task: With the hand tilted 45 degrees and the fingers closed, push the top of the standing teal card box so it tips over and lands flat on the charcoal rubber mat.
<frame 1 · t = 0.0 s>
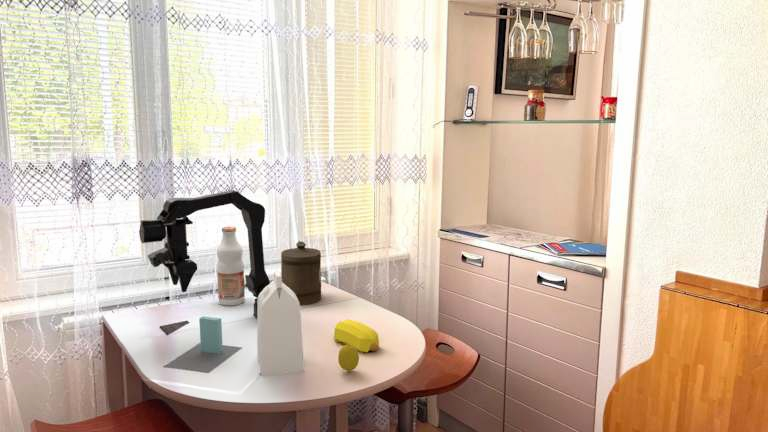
hand: (179, 288, 181), 15 cm above the table, tool pointing down, fingers open, 9 cm apart
milk: (280, 365, 161), on the table
wooden container: (301, 299, 219), on the table
card box: (211, 351, 168), point 1 cm above the table, touching mat
lemon: (348, 372, 157), on the table
mat: (204, 358, 165), on the table
yellow kitchen sponge: (356, 345, 176), on the table
chocolate bar: (183, 334, 184), on the table
fruit juice: (231, 302, 215), on the table
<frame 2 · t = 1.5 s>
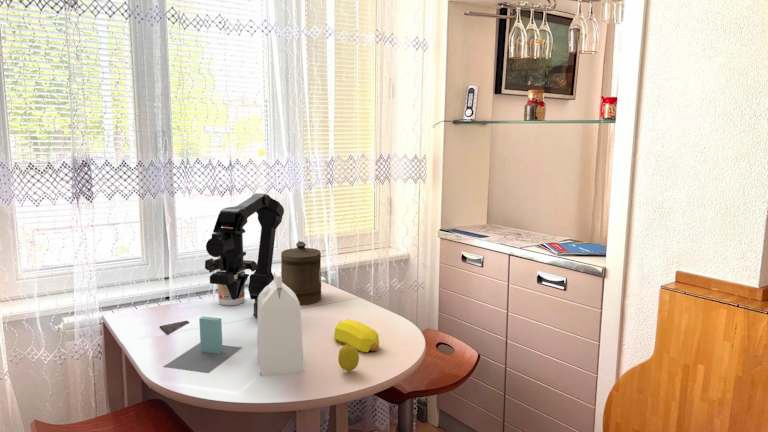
hand: (235, 298, 180), 12 cm above the table, tool pointing down, fingers closed
nothing on the table moved.
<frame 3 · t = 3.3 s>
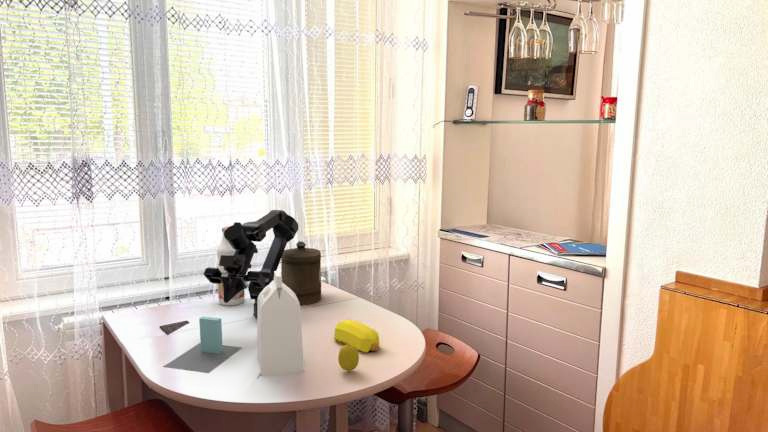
hand: (225, 302, 174), 13 cm above the table, tool tilted 45°, fingers closed
nothing on the table moved.
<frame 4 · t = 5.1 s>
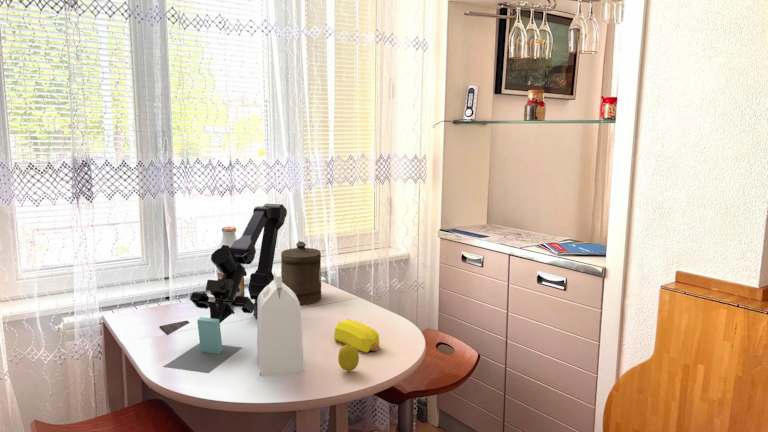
hand: (211, 328, 168), 7 cm above the table, tool tilted 45°, fingers closed, pressing on card box
card box: (211, 351, 168), point 1 cm above the table, tilted 6°, touching gripper, mat
everything else where it was.
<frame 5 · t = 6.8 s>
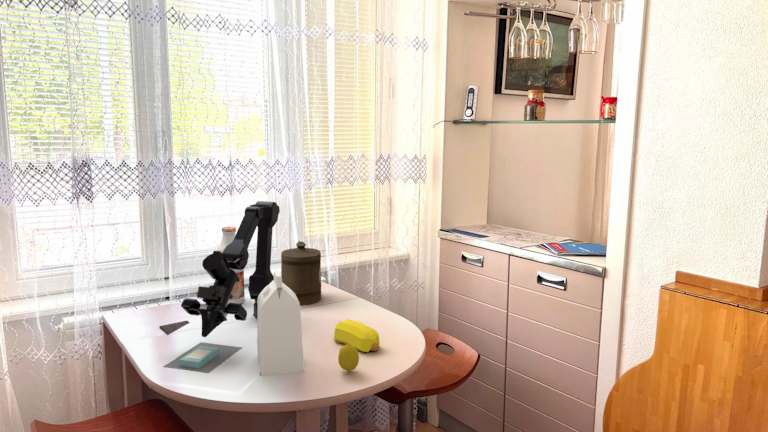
hand: (203, 336, 164), 7 cm above the table, tool tilted 45°, fingers closed
card box: (209, 349, 167), point 1 cm above the table, tilted 90°, touching mat
everything else where it was.
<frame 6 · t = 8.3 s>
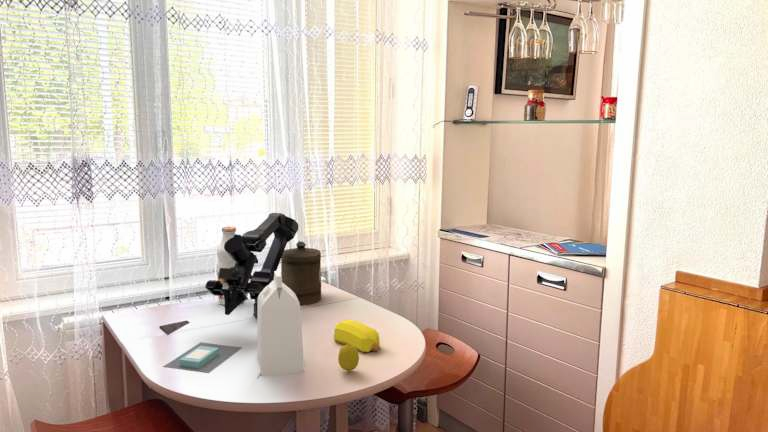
hand: (226, 314, 175), 9 cm above the table, tool tilted 45°, fingers closed
nothing on the table moved.
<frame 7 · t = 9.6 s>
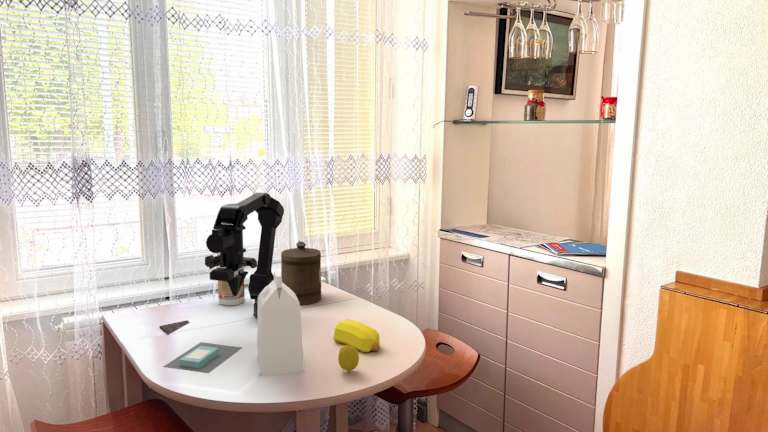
hand: (235, 295, 180), 13 cm above the table, tool pointing down, fingers closed
nothing on the table moved.
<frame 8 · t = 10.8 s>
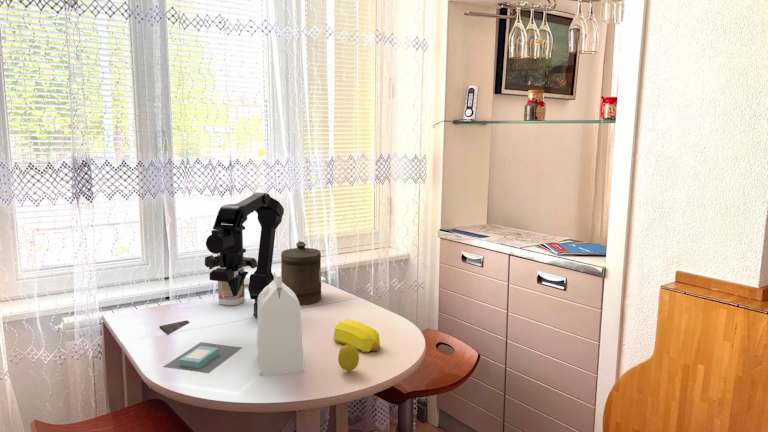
hand: (235, 295, 180), 13 cm above the table, tool pointing down, fingers closed
nothing on the table moved.
at the end: card box tilted 90°; card box 2.8 cm from the mat (horizontally); the gripper is holding nothing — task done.
